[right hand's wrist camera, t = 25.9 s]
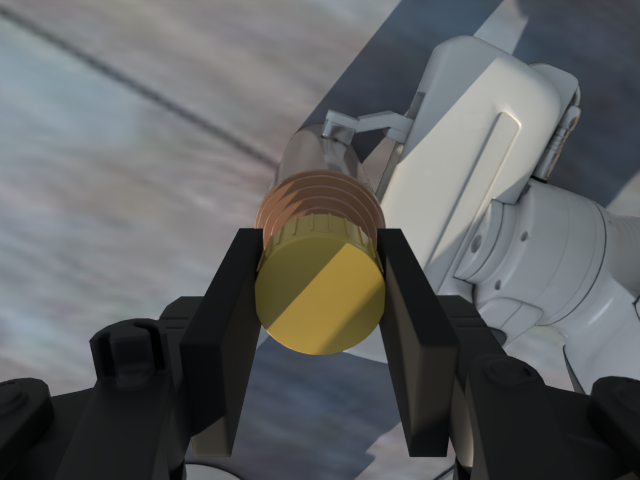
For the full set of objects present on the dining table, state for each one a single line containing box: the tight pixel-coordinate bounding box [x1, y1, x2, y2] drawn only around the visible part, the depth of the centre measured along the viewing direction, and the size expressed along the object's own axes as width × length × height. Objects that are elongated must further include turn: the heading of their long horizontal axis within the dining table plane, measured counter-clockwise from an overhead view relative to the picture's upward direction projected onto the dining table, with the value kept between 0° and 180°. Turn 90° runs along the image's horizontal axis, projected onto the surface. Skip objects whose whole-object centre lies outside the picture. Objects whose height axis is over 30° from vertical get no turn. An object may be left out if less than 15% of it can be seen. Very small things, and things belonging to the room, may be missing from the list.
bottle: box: [254, 124, 386, 252], centre depth 23 cm, size 5×5×21 cm
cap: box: [255, 213, 385, 355], centre depth 14 cm, size 4×4×2 cm
